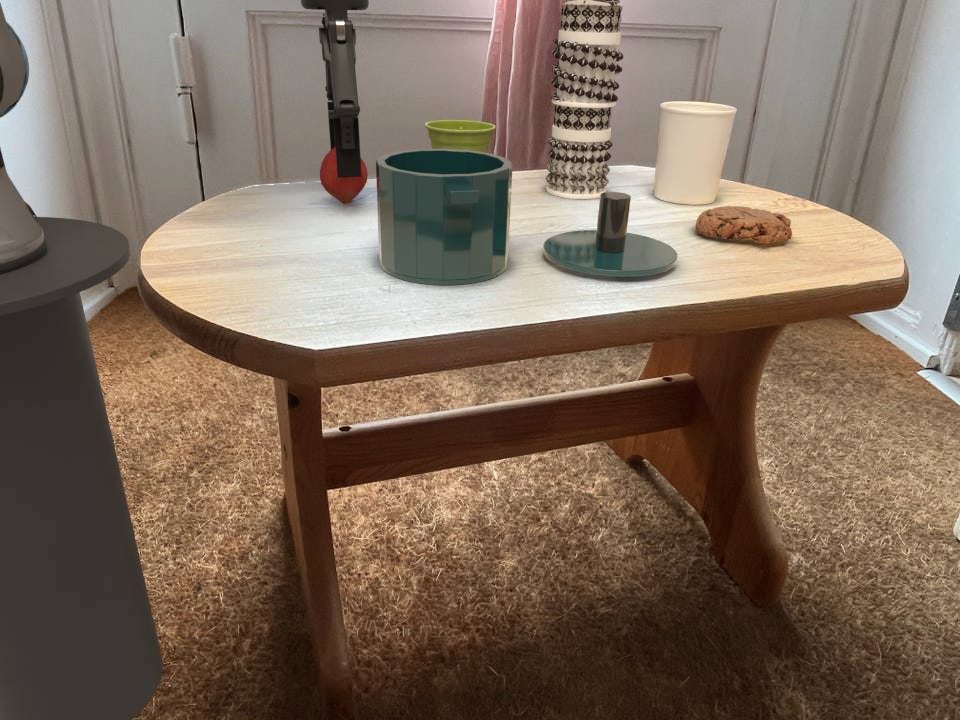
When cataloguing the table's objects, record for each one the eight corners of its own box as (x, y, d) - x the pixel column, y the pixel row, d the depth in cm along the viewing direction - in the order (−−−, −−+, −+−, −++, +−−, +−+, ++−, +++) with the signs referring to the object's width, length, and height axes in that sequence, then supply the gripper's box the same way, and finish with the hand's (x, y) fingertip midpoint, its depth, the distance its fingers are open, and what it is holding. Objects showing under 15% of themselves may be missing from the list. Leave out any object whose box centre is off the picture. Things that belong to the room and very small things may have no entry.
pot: (392, 299, 64) (389, 184, 60) (371, 239, 80) (367, 144, 75) (530, 291, 67) (537, 181, 62) (483, 234, 83) (486, 143, 78)
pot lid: (568, 286, 68) (574, 215, 65) (526, 243, 80) (530, 181, 77) (700, 278, 71) (712, 210, 68) (641, 238, 83) (649, 178, 80)
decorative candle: (529, 188, 103) (540, -11, 92) (576, 181, 108) (592, -9, 97) (574, 202, 97) (592, -10, 86) (622, 194, 102) (645, -8, 91)
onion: (313, 206, 91) (308, 140, 88) (335, 196, 96) (331, 133, 93) (355, 211, 90) (352, 144, 86) (376, 201, 95) (373, 137, 91)
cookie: (680, 225, 88) (684, 200, 87) (759, 222, 91) (764, 198, 89) (721, 250, 80) (726, 223, 78) (808, 247, 82) (814, 220, 81)
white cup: (721, 193, 104) (736, 104, 99) (720, 209, 96) (738, 113, 91) (651, 186, 107) (662, 99, 101) (644, 202, 98) (657, 108, 93)
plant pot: (439, 179, 107) (439, 117, 103) (501, 185, 104) (503, 122, 101) (414, 193, 99) (414, 126, 95) (481, 200, 96) (483, 132, 93)
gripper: (379, -32, 71) (387, 186, 81) (357, -27, 93) (366, 145, 102) (300, -34, 70) (318, 189, 79) (296, -28, 91) (311, 146, 101)
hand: (345, 165), depth 91 cm, fingers open, 13 cm apart
